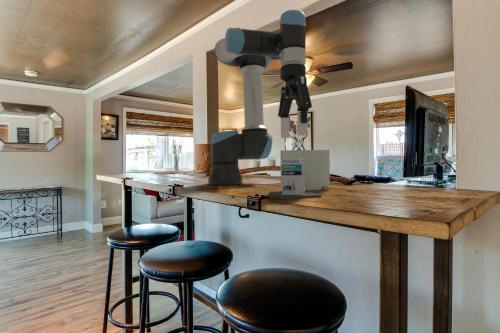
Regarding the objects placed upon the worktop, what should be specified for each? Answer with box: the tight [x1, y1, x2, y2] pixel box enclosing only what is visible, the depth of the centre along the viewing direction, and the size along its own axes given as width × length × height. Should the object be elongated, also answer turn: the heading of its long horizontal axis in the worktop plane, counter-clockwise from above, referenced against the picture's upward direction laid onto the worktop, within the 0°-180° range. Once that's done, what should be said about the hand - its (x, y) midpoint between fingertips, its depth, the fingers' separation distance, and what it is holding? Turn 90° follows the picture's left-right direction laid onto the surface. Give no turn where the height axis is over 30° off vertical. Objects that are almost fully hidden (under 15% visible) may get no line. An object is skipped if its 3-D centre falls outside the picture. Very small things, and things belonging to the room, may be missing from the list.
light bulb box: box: [280, 158, 306, 195], centre depth 89 cm, size 11×7×11 cm, turn 170°
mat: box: [268, 190, 322, 200], centre depth 89 cm, size 12×12×1 cm
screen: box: [279, 149, 331, 191], centre depth 101 cm, size 4×18×14 cm, turn 104°
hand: (293, 136), depth 88 cm, fingers open, 13 cm apart
